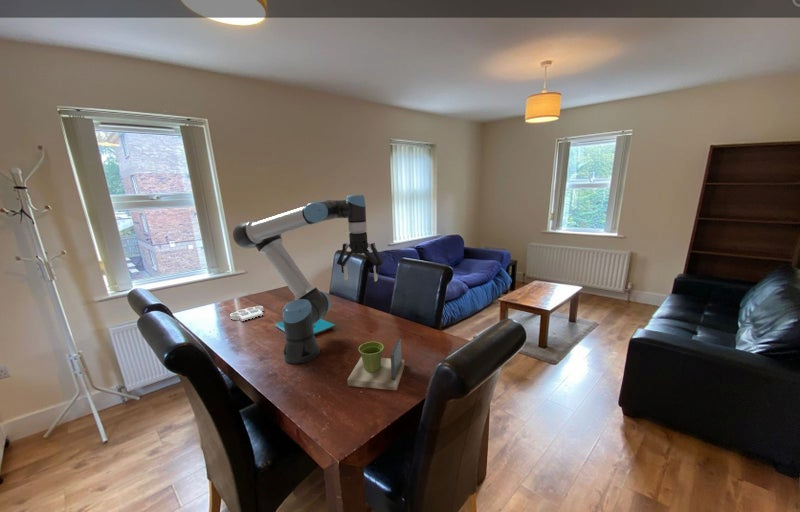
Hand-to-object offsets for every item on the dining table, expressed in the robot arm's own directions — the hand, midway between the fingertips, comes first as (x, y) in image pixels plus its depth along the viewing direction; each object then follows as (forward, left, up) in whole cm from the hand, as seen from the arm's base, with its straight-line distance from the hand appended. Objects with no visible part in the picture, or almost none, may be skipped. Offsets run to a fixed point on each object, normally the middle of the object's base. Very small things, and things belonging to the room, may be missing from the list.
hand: (361, 280), depth 135 cm
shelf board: (+12, -22, -31) cm, 40 cm away
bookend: (+20, -22, -28) cm, 41 cm away
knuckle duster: (-79, +24, -31) cm, 88 cm away
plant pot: (+10, -22, -28) cm, 37 cm away
